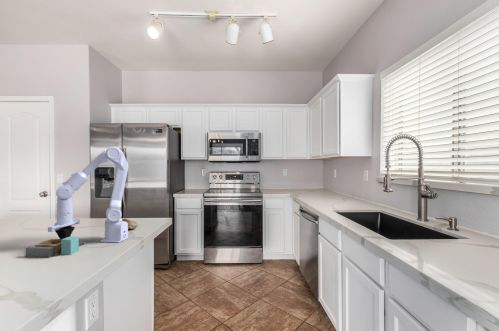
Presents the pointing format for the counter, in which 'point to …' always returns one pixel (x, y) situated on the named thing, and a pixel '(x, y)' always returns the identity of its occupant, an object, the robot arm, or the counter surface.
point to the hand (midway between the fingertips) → (64, 244)
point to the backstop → (42, 251)
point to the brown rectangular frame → (51, 244)
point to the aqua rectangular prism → (69, 245)
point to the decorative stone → (130, 224)
